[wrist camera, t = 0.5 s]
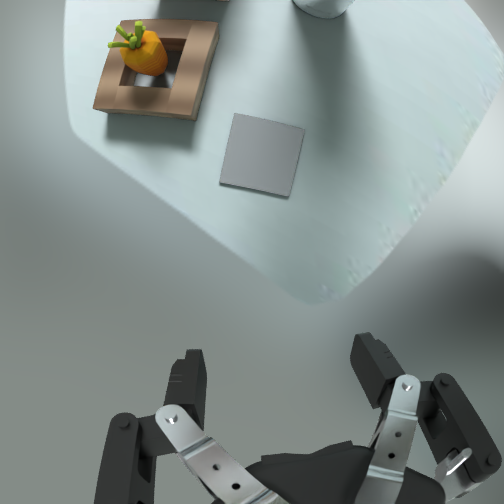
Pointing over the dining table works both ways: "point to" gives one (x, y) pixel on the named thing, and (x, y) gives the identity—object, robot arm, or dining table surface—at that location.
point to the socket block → (186, 79)
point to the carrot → (142, 50)
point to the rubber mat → (261, 154)
